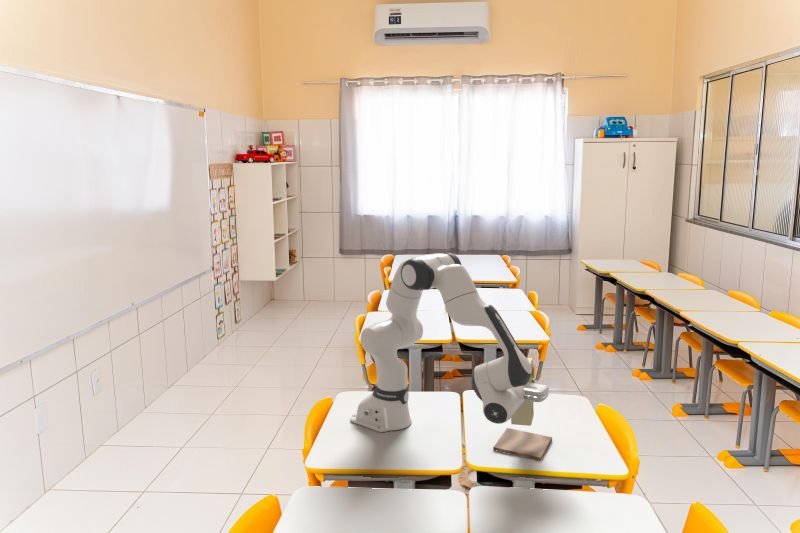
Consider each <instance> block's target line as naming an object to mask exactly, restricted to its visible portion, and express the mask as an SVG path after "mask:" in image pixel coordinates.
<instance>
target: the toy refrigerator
mask: <svg viewBox="0 0 800 533" xmlns="http://www.w3.org/2000/svg"><path fill="white" fill-rule="evenodd" d="M526 358H527V359H528V361H529V363H530V365H531V367H532V375H531V378H530V380H529V381H528V382H531V381H532V380H534V378H535V366H534V364H533V363H534V362H533V361H534V359H533V358H532V357H526ZM534 412H535V411H534V402H533V401H527V400H524V402H523V403H522V405H521V406H520V407H519V408H518V409H517V411H516V413H515V414H514V415H513V416H512V417H511V418H510V421H511V425H517V426H518V425H519V426H527V427H528V426H529V427H531V425H532V423H533V419H534Z"/></svg>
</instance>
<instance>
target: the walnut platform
mask: <svg viewBox="0 0 800 533" xmlns="http://www.w3.org/2000/svg"><path fill="white" fill-rule="evenodd" d="M552 441H553V437H552V436H548V435H543V434H539V433H533V432H528V431H523V430H520V429H514V428H509V427H507V428H506V429H505V430H504V431H503V433H502V434H501V436H500V437H499V438H498V440H497V442H496V443H495V444H494V445H493V447H492V448H493V449H492V450H493V451H494V450H497V451H496V452H498V451H501V452H500V453H503V452H505V453H504V454H507V453H509V455H512V456H516V457H519V458H520V457H521V458H525V459H530V460H535V461H538V462H539V461H540V462H541V461H542V459H543V457H544V456H545V454H546V452H547V450H548V449H549V447H550V444H551V443H552Z"/></svg>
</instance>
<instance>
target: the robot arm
mask: <svg viewBox="0 0 800 533" xmlns="http://www.w3.org/2000/svg"><path fill="white" fill-rule="evenodd" d="M393 275H394V276H393V279H392V281H391V284H390V288H389V291H388V294H387V298H386V302H385V305H386V308H387V310H388V312H389V313H390V314H391V317H389V319H386V320H382V321H379V322H375V323H373V324H370V325H368V326H367V327H365V328H364V329H363V330H362V331H361V333H360V344H361V346H362V349H363V350H364V351H365V352H366V353H367V354H369V356H371V357H372V358H373V360H374V363H375V367H376V368H375V369H376V382H375V384H373V385H372V387H370V392H372V393H370V394H369V395H367V396H366V397H365V398H363V399H362V400H361V401H360V402H359V404H358V406H357V409H356V411H355V412H354V413H352V414H351V417H350V422H351V423H354V424H356V425H360V426H362V427H365V428H368V429H370V430H373V431H375V432H379V433H384V432H385V433H386V432H389V431H399V430H403V429H406V428H408V427H410V426H411V424H412V418H411V414H410V409H409V397H410V396H409V394H410V393H409V385H408V366H407V364H406V362H405V361H404V360H402V359H401V358H398V350H401V349H403V348H406V347H410V346H412V345H414V344H416V343H417V342H419V341H420V340H421V339H422V338H423V334H424V327H423V325H422V323H421V320H420V319H419V318H418V317H417V313H418V309H419V305H420V301H421V297H422V294H423V291H427V290H430V289H437V290H438V291H439V292H440V295H441V297H442V301H443V304H444V306H445V310H446V312H447V314H448V316H449V318H450V319H451V320H452V321H453V322H455V324H457V325H458V324H459V325H461V326H465V327H466V326H470V327H483V328H486V329H488V330H489V331H490V332H491V334H493V336H494V338H495V340H496V342H497V343H498V345H499V347H500V349H501V350H502V353H503V356H500V357H498V358H496V359H492V360H488V361H486V362H484V363H481V364H478V365H475V367H474V368H473V370H472V374H471V386H472V389H473V391H474V393H475V395H476V396H477V398H478V399H479V400H480V401H481V403H482V405H483V406H482V411H483V412H482V413H483V415H484V417H485V418H486V419H487V421H489V422H491V423H494V424H497V425H498V424H499V425H500V424H505V423H506V422H508V421H509V420H511V417H512V416H513V415H514V414H515V413H516V411H517V409H518V408H519V407H520V406H521V405H522V403H523V402H524V400H527V401H533V403H542V402H544V401H545V400H547V398H548V397H549V394H550V391H549V390H550V387H549V386H548V385H547V384H541V383H538V381H537V380H535V379H533V380H532V381H531V382H528V381H529V380H530V378H531V375H532V367H531V365H530V363H529V361H528V359H527V358H528V357H527V356H526V355H525V354H524V351H522V349H521V348H520V346H519V345H518V343H517V342H516V340H515V338H514V336H513V335H512V333H511V330H509V328H508V326H507V324H506V323H505V321H504V320H503V318H502V316H501V315H500V313H499V312H498V310H497V309H496V308H495V307H494V306H493V305H491V304H487V303H485V301H483V299H482V298H481V296H480V295H479V292H478V290H477V287H476V285H475V283H474V281H473V278H472V277H471V275H470V274H469V271H468V270H467V269H466V267H465V266H464V265H462V262H461V260H460V258H459V256H457V255H456V254H454V253H451V252H441V253H439V252H438V253H430V254H429V253H428V254H425V255H421V256H417V257H412V258H407V259H404V260H403V261H402V262H401V263H400V264H399V265H398V267H397V269H396V271H395V273H394V274H393Z"/></svg>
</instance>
